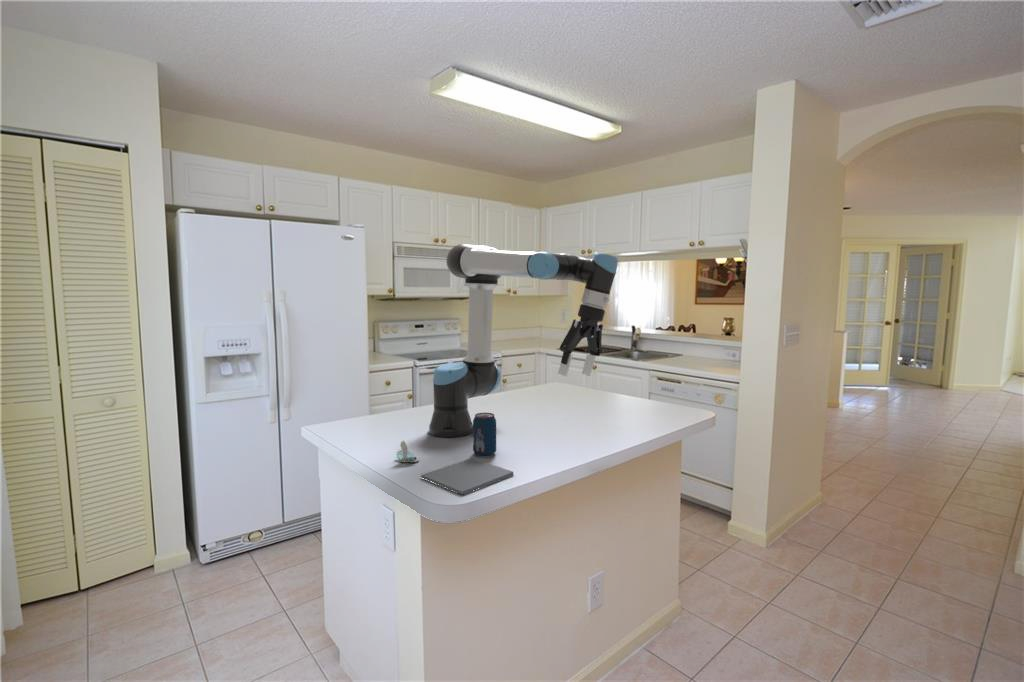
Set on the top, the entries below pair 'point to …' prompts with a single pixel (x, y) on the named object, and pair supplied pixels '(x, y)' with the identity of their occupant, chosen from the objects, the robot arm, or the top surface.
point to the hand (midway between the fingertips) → (574, 374)
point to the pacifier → (406, 454)
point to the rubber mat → (467, 475)
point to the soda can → (484, 434)
